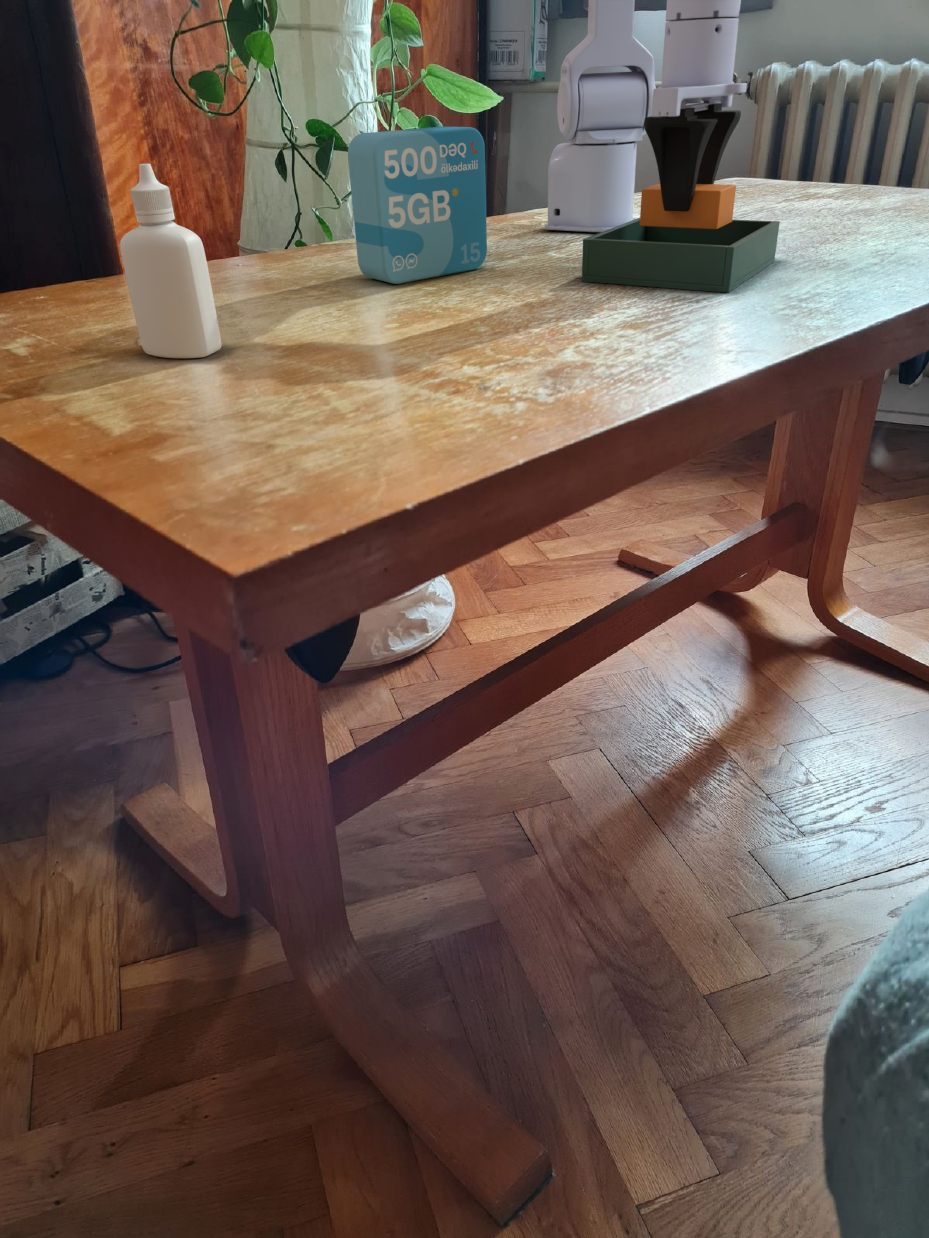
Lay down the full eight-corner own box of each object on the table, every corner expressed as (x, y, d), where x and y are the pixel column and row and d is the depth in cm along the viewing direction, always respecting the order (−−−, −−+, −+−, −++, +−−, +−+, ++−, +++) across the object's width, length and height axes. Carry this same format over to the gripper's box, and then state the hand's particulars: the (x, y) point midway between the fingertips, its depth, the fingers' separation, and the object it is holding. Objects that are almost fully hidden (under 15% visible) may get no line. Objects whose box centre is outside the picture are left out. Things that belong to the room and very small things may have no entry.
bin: (581, 281, 79) (582, 239, 77) (640, 253, 89) (643, 216, 87) (728, 293, 73) (734, 247, 71) (774, 262, 83) (780, 221, 81)
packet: (639, 226, 79) (641, 189, 77) (656, 219, 82) (659, 183, 80) (716, 229, 75) (720, 191, 74) (732, 222, 79) (736, 184, 77)
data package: (385, 287, 80) (372, 136, 73) (358, 280, 83) (344, 134, 76) (488, 267, 86) (485, 126, 79) (460, 262, 89) (455, 125, 83)
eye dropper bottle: (192, 339, 66) (156, 159, 60) (230, 352, 63) (196, 162, 56) (137, 352, 64) (93, 165, 57) (173, 366, 60) (131, 169, 54)
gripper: (723, 15, 64) (704, 220, 71) (776, 19, 74) (754, 197, 81) (631, 21, 67) (621, 217, 74) (694, 24, 77) (680, 195, 84)
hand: (686, 207), depth 78 cm, fingers closed on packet, 4 cm apart
